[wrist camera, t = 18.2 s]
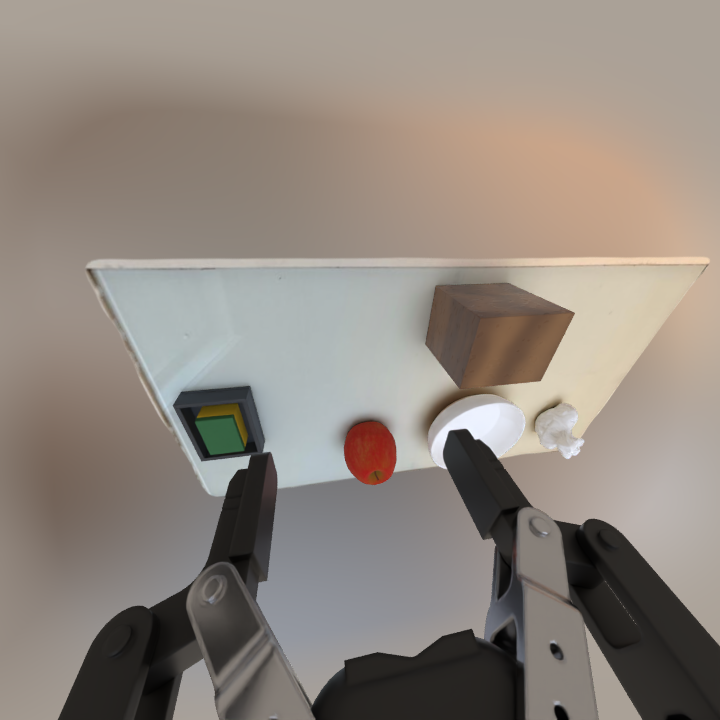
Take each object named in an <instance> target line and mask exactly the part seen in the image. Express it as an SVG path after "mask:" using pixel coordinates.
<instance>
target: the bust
mask: <svg viewBox="0 0 720 720" xmlns="http://www.w3.org/2000/svg"><path fill="white" fill-rule="evenodd" d="M577 420H578V413H577V411H576V409H575V408H574V407H573V406H572V405H570V404H567V403H560V404H559V405H557V406H556V407H555V408H551V409H549V410H547V411H545V412H543V413H541V414H540V415H539V416H538V417H537V420H536V421H535V425H536V427H535V432H536V433H537V435H538V437H539V440H540V444H541V445H543V446H544V447H545V448H547V449H554V448H555V447H557V449H558V451H559V452H561V454H562V456H563V457H565V458H566V459H570V457H571V456H572V455H575V456H576V455H577V454H578V453H579V452H580V448H579V446H582V445H583V443H584V440H583V439H581V438H575V437H574V436H573V435H572V428H573V426H574V425H575V423H576V422H577Z"/></svg>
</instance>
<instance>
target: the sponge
mask: <svg viewBox="0 0 720 720" xmlns="http://www.w3.org/2000/svg"><path fill="white" fill-rule="evenodd" d="M195 424H196V426H197V428H198V430H199V432H200V434H201V436H202V438H203V440H204V443H205V445H206V447H207V449H208V451H209V453H210V455H215V454H223V453H231V452H239V451H244V450H245V446H246V442H247V438H248V433H247V430H246V427H245V424H244V421H243V418H242V415H241V412H240V409H239V406H238V403H232V404H222V405H211V406H202V408H201V410H200V412H199V414H198V416H197V418H196V420H195Z"/></svg>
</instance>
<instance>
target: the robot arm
mask: <svg viewBox="0 0 720 720" xmlns="http://www.w3.org/2000/svg"><path fill="white" fill-rule="evenodd" d="M443 460H444V463H445V465H446V467H447V469H448V471H449V473H450V475H451V477H452V479H453V481H454V483H455V485H456V487H457V489H458V491H459V493H460V495H461V497H462V499H463V501H464V503H465V505H466V507H467V509H468V511H469V513H470V515H471V517H472V519H473V521H474V523H475V525H476V527H477V529H478V531H479V533H480V535H481V537H482V539H483V540H485V539H490V538H493V540H494V542H495V544H496V546H495V553H494V568H493V582H492V596H491V603H490V607H489V610H488V613H487V618H486V624H485V634H484V639H481V638H478V637H475V636H474V633H473V630H472V629H469V630H465V631H461V632H457V633H453V634H449V635H445V636H442V637H441V638H439V639H438V640H437V641H435V642H434V643H433V644H431V645H430V646H429V647H427V648H426V649H425V650H423V651H422V652H421V653H419V654H418V655H417V656H415V657H405V656H399V655H392V654H386V653H378V652H377V653H373V654H369V655H365V656H361V657H357V658H353V659H349V660H345V661H344V662H345V667H344V668H343V669H341V670H340V671H339V672H337V673H336V674H335V675H334V676H333V677H332V678H331V679H330V680H329V681H328V683H327V684H326V685H325V686H324V687H323V689H322V690H321V692H320V693H319V695H318V696H317V698H316V699H315V701H314V704H313V705H312V703H311V701H310V699H309V697H308V696H307V694H306V692H305V690H304V688H303V686H302V685H301V683H300V681H299V679H298V677H297V675H296V673H295V672H294V670H293V668H292V666H291V664H290V663H289V661H288V659H287V657H286V655H285V654H284V652H283V650H282V648H281V646H280V645H279V643H278V641H277V639H276V637H275V635H274V633H273V632H272V630H271V628H270V626H269V624H268V622H267V620H266V619H265V617H264V615H263V613H262V611H261V609H260V607H259V606H258V604H257V602H256V597H257V588H258V582H262V581H267V577H268V567H269V558H270V549H271V540H272V531H273V522H274V512H275V503H276V494H277V472H276V468H275V465H274V461H273V457H272V454H271V452H266V453H258V454H252V455H251V457H250V461H249V465H248V469H241V470H238V471H237V472H236V474H235V475H234V476H233V478H232V479H231V481H230V482H229V485H228V489H227V493H226V496H225V497H226V498H225V500H224V503H223V507H222V512H221V514H220V518H219V522H218V525H217V529H216V532H215V536H214V540H213V543H212V547H211V550H210V554H209V557H208V560H207V562H206V565H205V567H204V568H203V570H202V571H201V573H200V574H199V576H198V577H197V578H196V579H195V580H194V581H193V582H192V583H191V584H190V585H189V586H188V587H186V588H185V589H183V590H182V591H180V592H179V593H177V594H175V595H173V596H171V597H169V598H167V599H166V600H164V601H162V602H160V603H158V604H156V605H155V606H153V607H151V608H149V609H148V608H146V607H144V606H133V607H130V608H128V609H126V610H124V611H122V612H120V613H119V614H117V615H116V616H115V617H114V618H112V619H111V620H110V621H109V622H108V623H107V624H106V625H105V626H104V627H103V629H102V630H101V631H100V632H99V634H98V635H97V636H96V638H95V639H94V641H93V643H92V645H91V646H90V649H89V651H88V653H87V655H86V657H85V659H84V662H83V664H82V666H81V668H80V671H79V673H78V675H77V678H76V680H75V682H74V685H73V687H72V689H71V691H70V693H69V696H68V698H67V700H66V703H65V705H64V707H63V709H62V712H61V714H60V716H59V718H58V720H172V718H173V714H174V710H175V705H176V701H177V696H178V692H179V687H180V683H181V678H182V674H183V671H184V670H186V669H188V668H189V667H191V666H192V665H194V664H195V663H197V662H198V661H200V660H201V659H203V658H204V660H205V663H206V666H207V668H208V671H209V674H210V677H211V679H212V682H213V686H214V690H215V706H216V710H217V714H218V717H219V720H599V718H598V711H597V705H596V699H595V692H594V685H593V678H592V672H591V666H590V659H589V652H588V646H587V639H586V632H585V626H584V623H585V624H586V626H587V628H588V629H589V631H590V633H591V634H592V636H593V638H594V639H595V641H596V643H597V644H598V646H599V647H600V649H601V651H602V653H603V654H604V656H605V658H606V659H607V661H608V663H609V664H610V666H611V668H612V669H613V671H614V673H615V674H616V676H617V678H618V679H619V681H620V683H621V685H622V686H623V688H624V690H625V691H626V693H627V695H628V696H629V698H630V700H631V701H632V703H633V705H634V706H635V708H636V709H637V711H638V713H639V714H640V716H641V718H642V720H720V646H719V645H718V644H717V643H716V641H715V640H714V639H713V638H712V637H711V636H710V634H709V633H708V632H707V631H706V630H705V629H704V628H703V626H701V624H700V623H699V622H698V621H697V619H696V618H695V617H694V616H693V615H692V614H691V612H690V611H689V610H688V609H687V608H686V607H685V606H684V605H683V603H682V602H681V601H680V600H679V599H678V597H676V595H675V594H674V593H673V592H672V591H671V590H670V588H669V587H668V586H667V585H666V584H665V582H664V581H663V580H662V579H661V578H660V577H659V576H658V574H657V573H656V572H655V571H654V570H653V569H652V567H651V566H650V565H649V564H648V563H647V562H646V561H645V559H644V558H643V557H642V556H641V555H640V554H639V552H638V551H637V550H636V549H635V548H634V547H633V546H632V544H631V543H630V542H629V541H628V540H627V539H626V538H625V536H624V535H623V534H622V533H620V532H619V531H618V530H617V529H616V528H614V527H613V526H611V525H610V524H608V523H606V522H604V521H601V520H597V519H588V520H587V521H586V522H585V523H583V524H582V525H577V524H571V523H566V522H560V521H556V520H553V519H552V518H550V517H549V516H548V515H547V514H546V513H544V512H542V511H541V510H539V509H536V508H534V507H533V506H531V504H530V503H529V502H528V500H527V499H526V498H525V496H524V495H523V493H522V492H521V491H520V489H519V488H518V486H517V485H516V484H515V482H514V481H513V479H512V478H511V476H510V475H509V474H508V472H507V471H506V469H504V467H503V465H502V464H501V462H500V461H499V460H498V459H497V457H496V455H495V454H494V453H493V451H492V450H491V448H490V447H489V446H487V445H486V444H485V443H484V442H482V441H481V440H480V439H476V440H475V439H474V437H473V436H472V434H471V433H470V432H469V430H467V429H458V430H450V431H449V432H448V435H447V439H446V442H445V445H444V449H443ZM605 581H606V582H607V583H606V582H605ZM608 585H609V586H608ZM610 588H611V589H612V590H611V589H610ZM613 592H614V593H613ZM615 595H616V596H617V597H616V596H615ZM618 599H619V600H618ZM571 601H572V602H571ZM620 602H621V603H622V604H621V603H620ZM623 606H624V607H623ZM625 609H626V610H627V611H626V610H625ZM628 613H629V614H628ZM630 616H631V617H632V618H631V617H630ZM633 620H634V621H633ZM635 623H636V624H635Z"/></svg>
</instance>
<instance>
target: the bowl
mask: <svg viewBox="0 0 720 720" xmlns="http://www.w3.org/2000/svg"><path fill="white" fill-rule="evenodd" d="M524 428H525V416H524V414H523V412H522V411H521V410H520V409H519V408H518V407H517V406H516V405H515V404H513V403H512V402H510V401H509V400H507V399H504V398H502V397H500V396H497V395H493V394H480V395H473V396H468V397H464V398H462V399H459V400H457V401H455V402H453V403H452V404H450V405H448V406H447V407H446V408H445V409H443V410H442V411H441V412H440V413H439V415H438V416H437V417H436V419H435V420H434V422H433V423H432V425H431V427H430V429H429V432H428V448H429V452H430V455H431V458H432V460H433V461H434V462H435V463H436V464H437V465H438V466H440V467H442V468H444V469H447V467H446V465H445V463H444V460H443V449H444V445H445V442H446V439H447V435H448V432H449V431H450V430H458V429H467V430H469V432H470V433H471V434H472V436H473V437H474V439H475V440H476V439H480V440H481V441H482V442H484V443H485V444H486V445H487V446H489V447H490V448H491V450H492V451H493V453H494V454H495V455H496V457H497V458H499V457H500V456H502V455H503V454H505V453H506V452H507V451H508V450H509V449H511V448H512V447H513V446H514V445H515V443H516V442H517V441H518V440H519V438H520V437H521V435H522V433H523V431H524Z"/></svg>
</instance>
